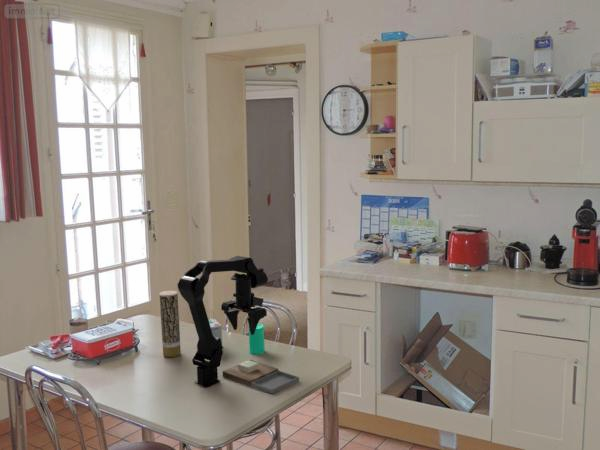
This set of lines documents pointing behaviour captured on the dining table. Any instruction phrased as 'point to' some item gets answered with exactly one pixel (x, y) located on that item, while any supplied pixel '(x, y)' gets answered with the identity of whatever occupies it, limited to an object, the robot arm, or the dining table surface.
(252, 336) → the candle
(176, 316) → the brown bark cylinder
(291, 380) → the tray
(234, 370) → the walnut board
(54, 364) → the dining table surface
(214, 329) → the light bulb box
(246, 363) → the tile
